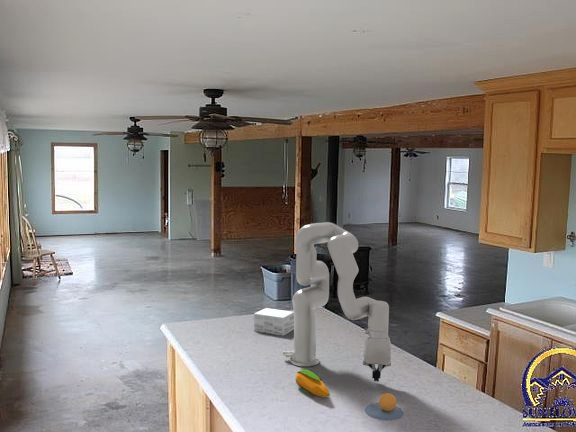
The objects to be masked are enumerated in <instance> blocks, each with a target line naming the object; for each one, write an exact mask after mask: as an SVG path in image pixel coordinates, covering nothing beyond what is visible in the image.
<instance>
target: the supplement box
mask: <svg viewBox="0 0 576 432" xmlns="http://www.w3.org/2000/svg"><path fill="white" fill-rule="evenodd" d="M258 331H259V332H260V333H264V332H266V333H265V334H270V333H271V334H270V335H276V336H282V337H284V336H286V335H287V334H289V333H290V332H292V331H294V311H293V310H292V311H291V310H285V309H284V310H282V309H276V308H271V307H270V308H269V307H265V308H263V309H261V310H259V311H257V312H254V314H253V332H258Z"/></svg>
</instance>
